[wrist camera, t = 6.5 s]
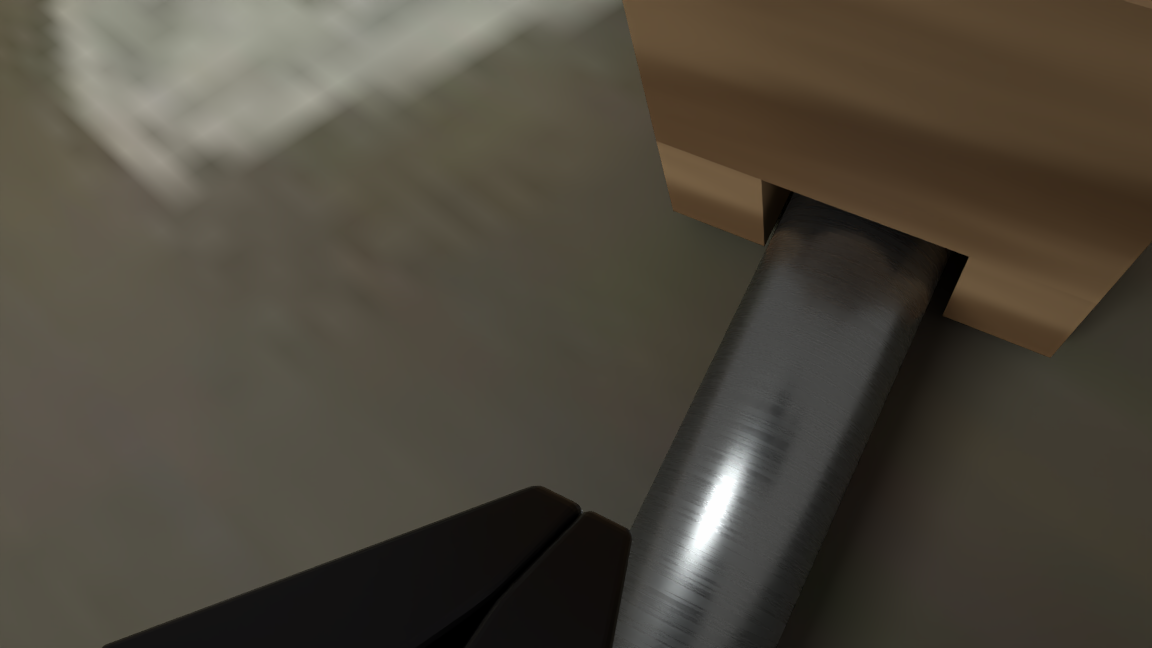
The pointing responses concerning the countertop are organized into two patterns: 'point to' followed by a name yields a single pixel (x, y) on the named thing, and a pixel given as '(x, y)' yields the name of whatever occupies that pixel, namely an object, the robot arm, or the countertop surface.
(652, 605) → the steel pipe
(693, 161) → the rectangular wooden block
